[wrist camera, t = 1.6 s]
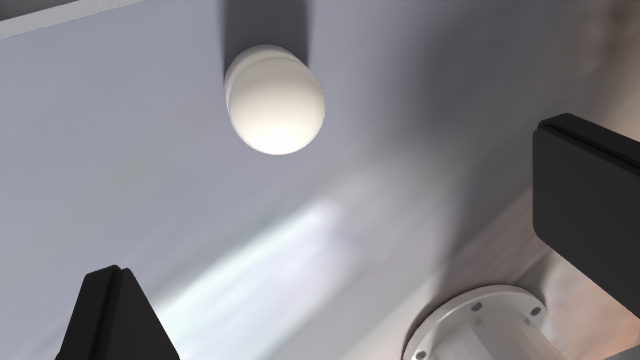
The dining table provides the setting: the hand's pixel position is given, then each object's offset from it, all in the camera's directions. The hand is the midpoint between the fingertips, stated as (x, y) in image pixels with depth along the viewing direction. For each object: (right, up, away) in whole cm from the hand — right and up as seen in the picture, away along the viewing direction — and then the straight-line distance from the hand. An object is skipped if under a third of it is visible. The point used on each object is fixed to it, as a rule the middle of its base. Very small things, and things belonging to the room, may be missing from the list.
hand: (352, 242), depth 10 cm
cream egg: (-3, +6, +14) cm, 16 cm away
